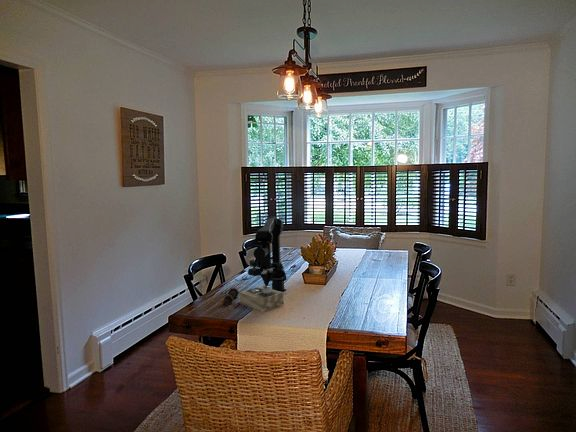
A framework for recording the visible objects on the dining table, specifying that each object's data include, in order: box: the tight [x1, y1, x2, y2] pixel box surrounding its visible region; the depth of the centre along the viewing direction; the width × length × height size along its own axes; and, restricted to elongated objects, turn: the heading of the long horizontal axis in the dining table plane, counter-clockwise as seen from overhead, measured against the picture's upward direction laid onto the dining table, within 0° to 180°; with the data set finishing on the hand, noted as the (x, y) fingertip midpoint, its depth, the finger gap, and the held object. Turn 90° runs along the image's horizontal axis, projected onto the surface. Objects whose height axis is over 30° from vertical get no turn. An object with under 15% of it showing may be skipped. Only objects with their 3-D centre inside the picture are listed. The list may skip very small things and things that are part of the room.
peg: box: [262, 284, 272, 296], centre depth 209 cm, size 4×4×6 cm
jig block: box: [238, 285, 285, 312], centre depth 213 cm, size 14×18×6 cm
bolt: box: [223, 287, 239, 306], centre depth 220 cm, size 6×5×15 cm
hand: (266, 285), depth 209 cm, fingers closed
